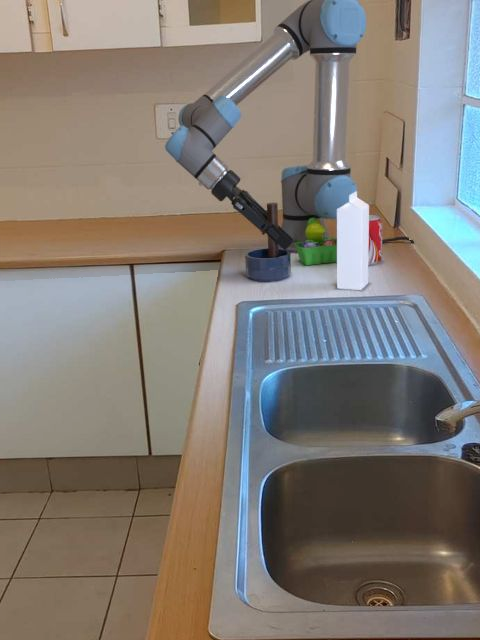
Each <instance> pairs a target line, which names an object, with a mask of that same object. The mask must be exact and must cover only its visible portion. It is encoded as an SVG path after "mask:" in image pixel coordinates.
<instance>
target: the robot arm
mask: <svg viewBox="0 0 480 640" xmlns="http://www.w3.org/2000/svg"><path fill="white" fill-rule="evenodd" d="M366 30H367V15H366V11H365V9H364V7H363V5H362V4H361V3H360V2H359V0H308V1H306V2H304V3H302V4H301V5H300V6H298V7H297V8H296V9H295V10H293V11H292V13H291V12H290V14H289V15H288V16H287V17H286V18H285V19H283V20H282V21H281V22H280V23H279V24H278V25H276V27H274V28H273V31H272V32H273V33H272V36H270V37H269V38H268V39H267V40H265V41H264V42H263V43H262V44H260V45H259V47H257V48H256V49H254V51H252V52H251V53H250V54H249V55H248V56H247V57H246V58H244V59H243V60H242V61H241V62H239V64H238V65H236V66H235V67H233V69H231V70H230V71H229V72H228V73H227V74H226V75H225V76H223V77H222V78H221V79H220V80H219V81H218V82H216V84H214V85H213V86H212V87H211V88H209V89H208V90H207V91H206V92H205V93H204V94H203V95H201V96H200V97H199V98H198V99H197V100H195V101H194V102H192V103H191V102H190V103H188V104H186V105H184V106H183V107H182V108H181V109H180V110H179V113H178V117H177V120H178V124H179V127H178V128H177V129H176V130H175V131H174V132H173V133H172V134H171V136H170V137H169V138H168V139H167V141H166V143H165V146H164V148H165V151H166V152H167V153H168V154H169V155H170V156H171V158H173V159H174V160H175V162H176V163H178V164H179V165H180V166H181V167H182V168H183V169H185V170H186V171H187V172H188V173H189V174H190V175H191V176H192V177H193V178H194V179H195V180H196V181H198V185H199V186H202V187H204V188H205V189H206V190H208V191H210V190H211V191H210V193H211V195H212V196H214V197H215V198H216V199H217V200H218V201H219V202H223V201H224V200H225V199H226V198H227V199H228V200H229V201H230V202H231V203H230V204H231V205H232V208H233V209H234V210H236V211H237V212H238V213H239V214H241V215H242V216H243V217H244V218H245V219H247V220H248V221H249V222H250V223H251V224H252V225H253V226H255V228H257V229H258V230H259V231H260V233H261V235H262V236H264V235H265V234H266V235H267V236H268V235H269V236H270V237H271V238H272V239H273V240H274V241H275V242H276V243H277V244H278V248H281V249H284V250H289V251H290V253H291V252H293V253H298V251H297V248H296V246H295V243H297V242H303V241H306V240H308V239H307V238H306V235H305V231H306V228H307V226H308V225H307V224H308V220H309V219H310V218H316V219H318V220H319V221H320V222H321V224H322V225H323V227H324V228H325V231H326V232H325V234H324V235H323V239H324V238H325V239H328V238H330V235H329V233H328V229H327V226H326V223H325V221H324V219H325V220H337V209H338V208H340V207H341V206H343V205H344V204H346V203H348V202H349V195H351V194H352V193H354V192H355V191H357V195H358V191H359V190H358V187H357V184H356V183H355V181H354V179H353V178H351V172H352V171H351V169H352V168H351V164H350V163H348V161H347V160H346V152H347V131H348V130H347V129H348V108H349V106H348V105H349V88H350V87H349V85H350V67H351V65H350V64H351V61H352V60H353V59H354V58H355V57H356V56H357V47H358V45H357V44H358V43H359V42H360V41H361V39H362V38H363V37H364V35H365V33H366ZM307 52H309V56H310V58H311V59H312V60H313V61H314V63H315V70H314V75H315V76H314V103H313V104H314V105H313V140H312V159H311V161H310V162H309V163H308V164H307V165H306V164H305V165H296V166H290V167H285V168H283V170H282V171H281V177H280V178H281V180H280V183H281V201H282V202H281V203H282V207H281V208H282V223H281V226H280V225H279V224H278V228H277V227H276V226H275V225H274V224H273V225H272V224H271V223H270V222H269V221H268V220H267V209H265V208H264V207H263V206H262V205H261V204H260V203H258V201H257V200H255V199H254V197H253V196H252V195H251V194H250V193H249V192H248V191H247V190H245V189H241V188H240V187H238V184H239V183H240V182H241V177H240V176H239V175H238V174H237V173H236V172H234V171H233V169H229V165H228V164H226V163H225V162H224V161H223V160H222V159H221V158H220V157H219V156H218V155H216V154H215V152H213V150H214V149H215V148H216V147H217V146H218V145H219V144H220V143H221V142H222V141H223V139H225V137H226V136H227V135H228V134H229V133H230V131H232V129H234V128H235V126H236V125H237V123H238V122H239V121H240V120H241V117H242V112H241V110H240V108H239V107H238V105H239V104H240V103H242V102H243V101H244V100H245V99H246V98H247V97H249V96H250V95H251V94H252V93H253V92H254V91H256V90H257V89H258V88H259V87H260V86H262V85H263V84H264V83H265V82H266V81H267V80H269V78H271V77H272V76H273V75H274V74H276V73H277V72H278V71H279V70H280V69H281V68H283V66H285V65H286V64H287V63H288V62H289V61H290V60H292V61H296V60H298V59H299V58H300V57H302V56H303V55H304V54H306V53H307ZM409 238H410V237H408V236H396V237H391V238H384V239H382V244H383V243H388V242H395V241H403V240H405V241H408V242H410V243H411V244H415V243H414V241H415V240H414V239H412V240H409ZM335 239H336V240H337V238H335ZM413 240H414V241H413Z"/></svg>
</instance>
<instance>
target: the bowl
mask: <svg viewBox="0 0 480 640" xmlns="http://www.w3.org/2000/svg"><path fill="white" fill-rule="evenodd" d="M278 251H279V257H276V258H268V247H265V248H257V249H252V250H249V251H247V252H246V253H244V254H245V255H244V259H245V260H244V261H245V276H247V278H250V279H251V280H253V281H256V282H276V281H281V280H283V279H286V278H287V277H288V276H290V275H291V274H292V265H291V264H292V262H291V251H289V250H284V249H281V248H278Z"/></svg>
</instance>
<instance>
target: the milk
mask: <svg viewBox="0 0 480 640" xmlns="http://www.w3.org/2000/svg"><path fill="white" fill-rule="evenodd" d="M357 191H358V190H357ZM357 191H355V192H354V193H352V194H351V195H349V202H348V203H346V204H344V205H343V206H341V207H340V208H338V209H337V219H336V239H337V262H336V289H338V290H353V291H363V289H364V288H365V287H366V286H367V285H368V284H369V265H368V249H369V215H370V204H368V203H367V202H365V201H363V200H362V199H361V198H359V197H358V194H357Z"/></svg>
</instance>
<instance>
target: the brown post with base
mask: <svg viewBox="0 0 480 640" xmlns="http://www.w3.org/2000/svg"><path fill="white" fill-rule="evenodd" d="M278 207H279V206H278V202H268V203H266V211H267V220H268V221H269V222H270V223H271V224H272V225H273V224H274V225H275V226H276V227H277V228H278V225H279V214H278V209H279V208H278ZM267 248H268V258H276V257H279V251H278V244H277V243H276V242H275V241H274V240H273V239H272V238H271V237H270V236H269V235H268V234H267Z"/></svg>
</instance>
